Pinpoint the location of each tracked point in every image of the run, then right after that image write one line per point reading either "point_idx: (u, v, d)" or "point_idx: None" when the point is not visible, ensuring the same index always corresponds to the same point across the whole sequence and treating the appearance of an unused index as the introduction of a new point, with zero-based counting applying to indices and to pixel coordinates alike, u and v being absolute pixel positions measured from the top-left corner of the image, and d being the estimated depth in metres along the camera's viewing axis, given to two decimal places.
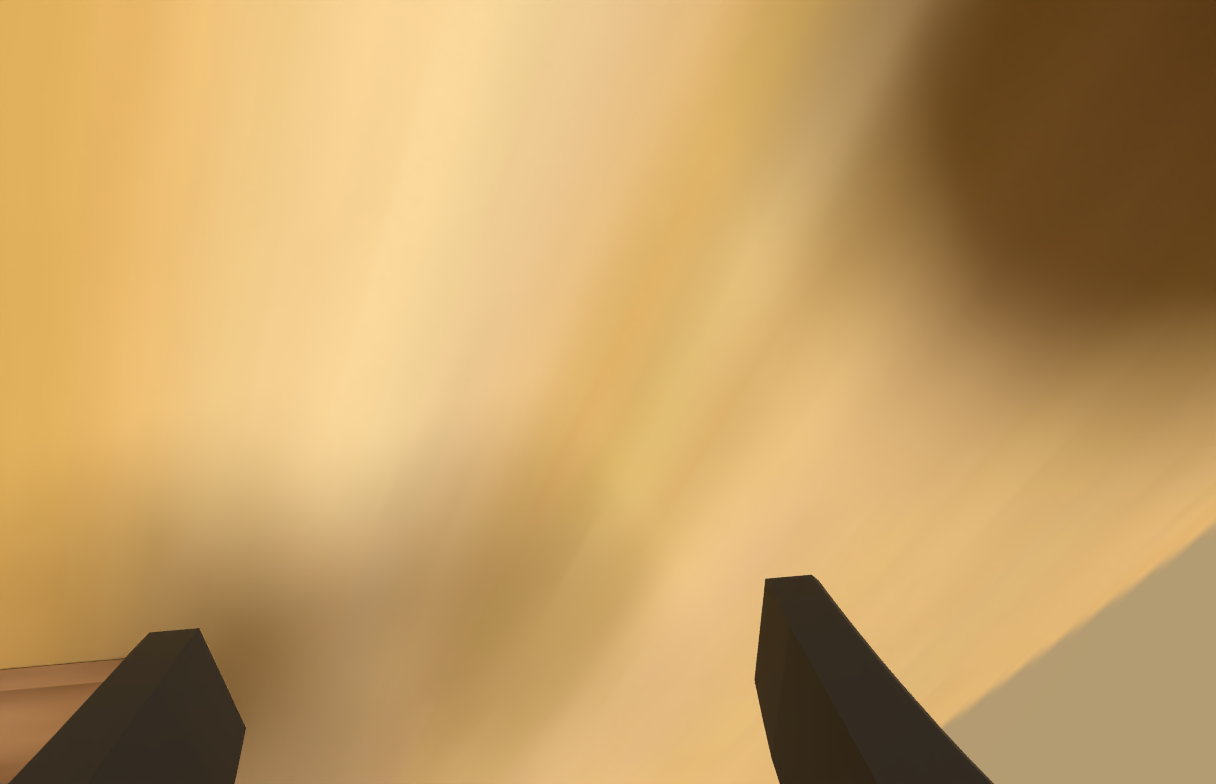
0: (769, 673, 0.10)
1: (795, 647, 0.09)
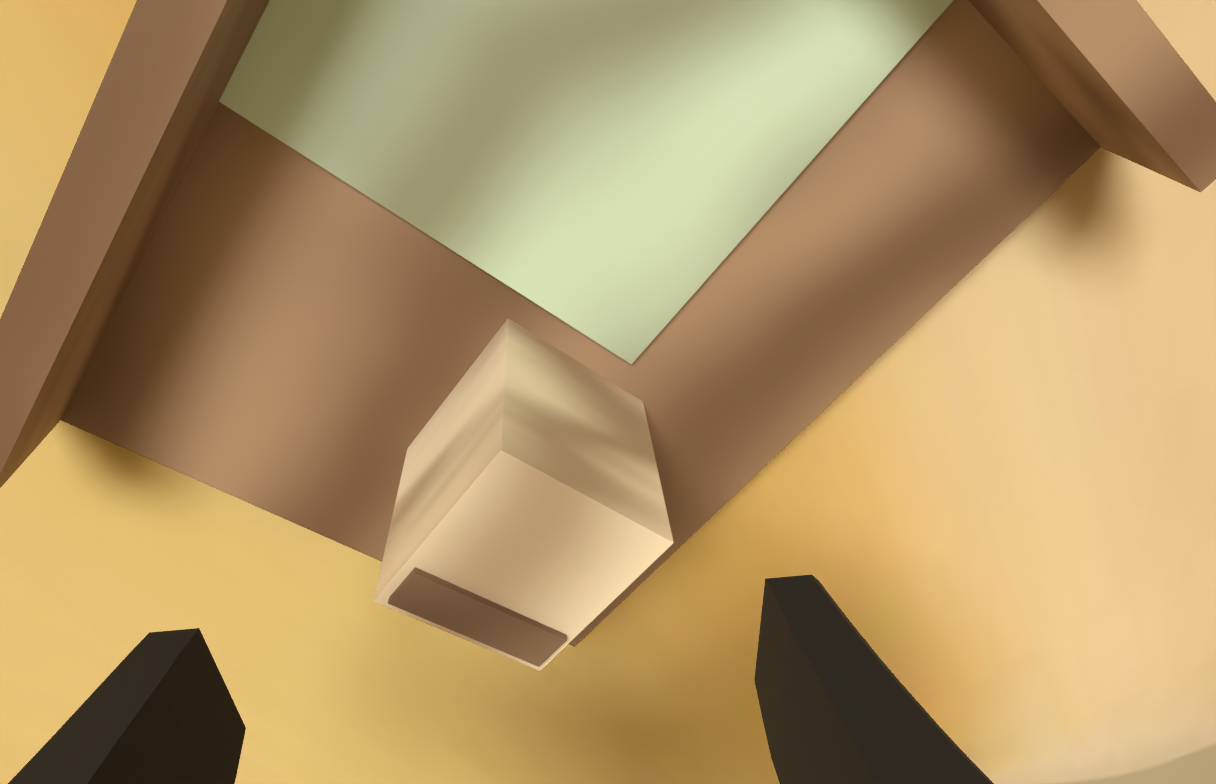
0: (769, 673, 0.10)
1: (795, 647, 0.09)
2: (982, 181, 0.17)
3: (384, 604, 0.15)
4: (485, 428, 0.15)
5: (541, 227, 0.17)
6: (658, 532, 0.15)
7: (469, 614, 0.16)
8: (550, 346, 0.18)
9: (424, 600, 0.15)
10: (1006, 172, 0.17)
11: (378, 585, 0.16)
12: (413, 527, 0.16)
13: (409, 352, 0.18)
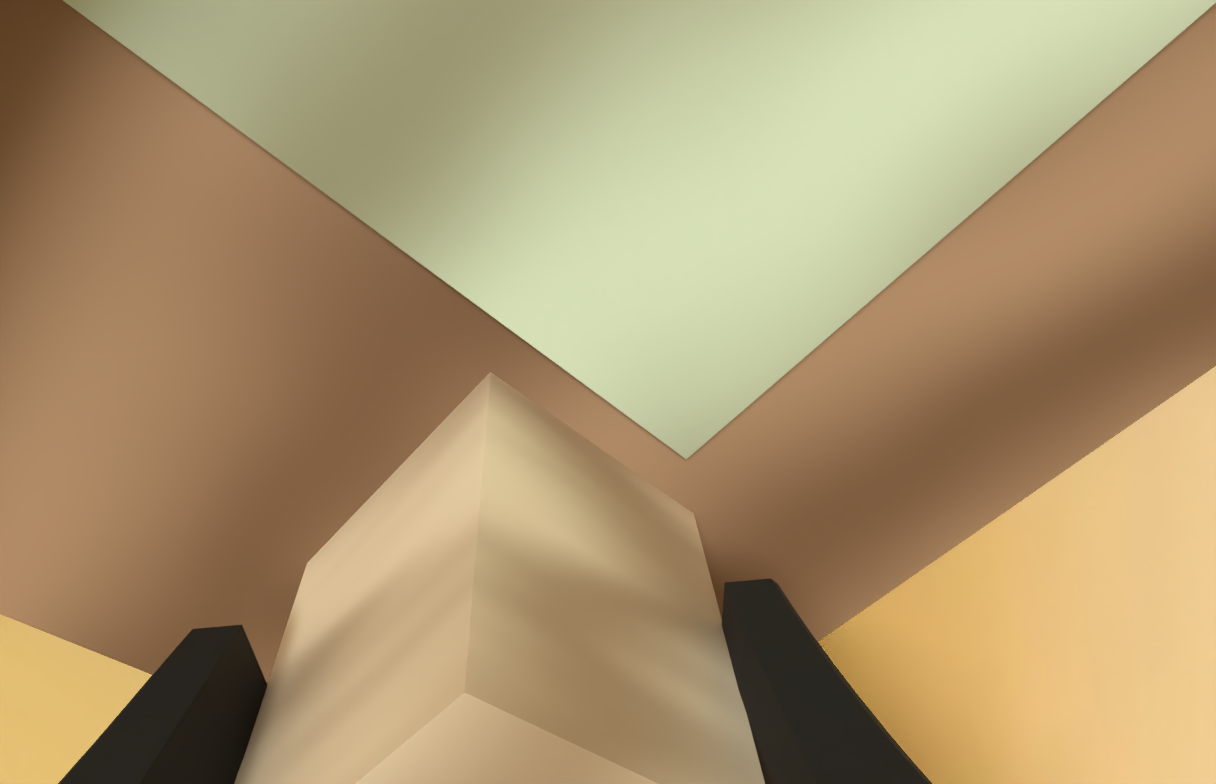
0: None
1: (749, 651, 0.09)
2: None
3: None
4: (436, 604, 0.08)
5: (565, 222, 0.09)
6: None
7: None
8: (557, 422, 0.11)
9: None
10: None
11: None
12: (282, 771, 0.08)
13: (316, 416, 0.11)
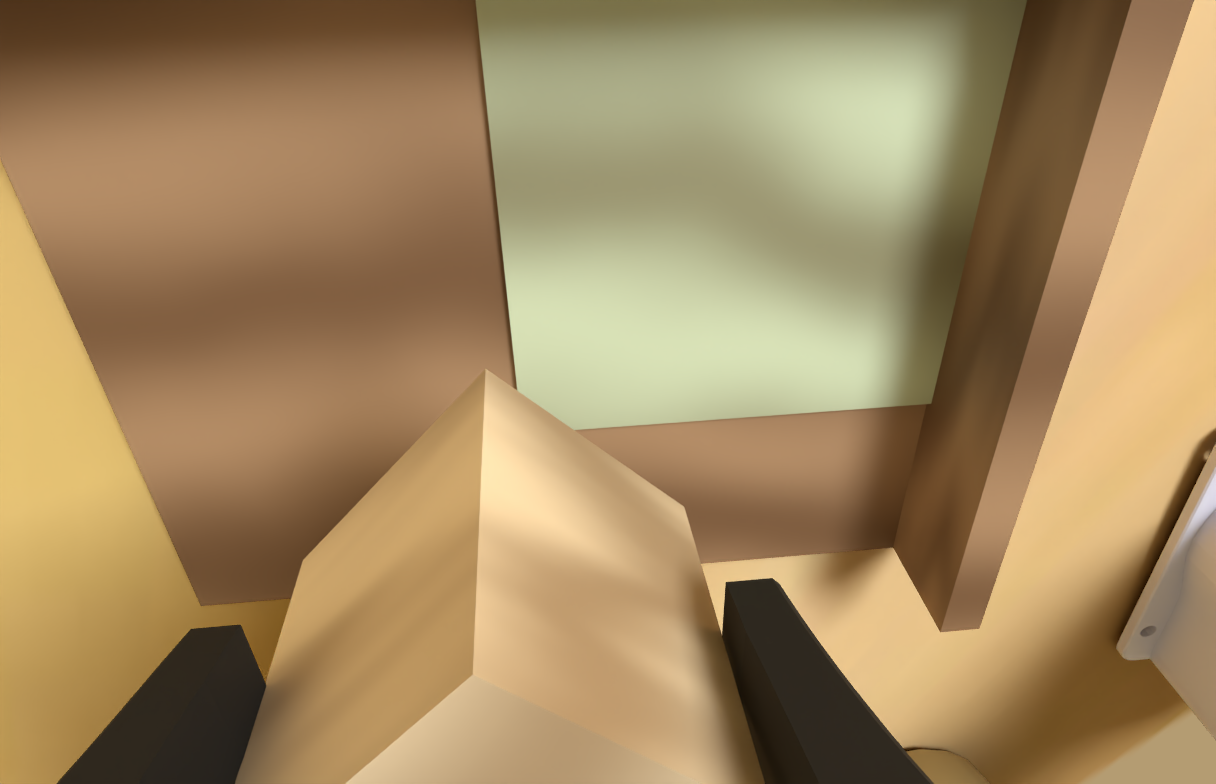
0: None
1: (751, 651, 0.09)
2: (828, 512, 0.21)
3: None
4: (439, 593, 0.08)
5: (579, 288, 0.17)
6: None
7: None
8: (551, 417, 0.11)
9: None
10: (843, 519, 0.21)
11: None
12: (287, 761, 0.08)
13: (368, 268, 0.16)
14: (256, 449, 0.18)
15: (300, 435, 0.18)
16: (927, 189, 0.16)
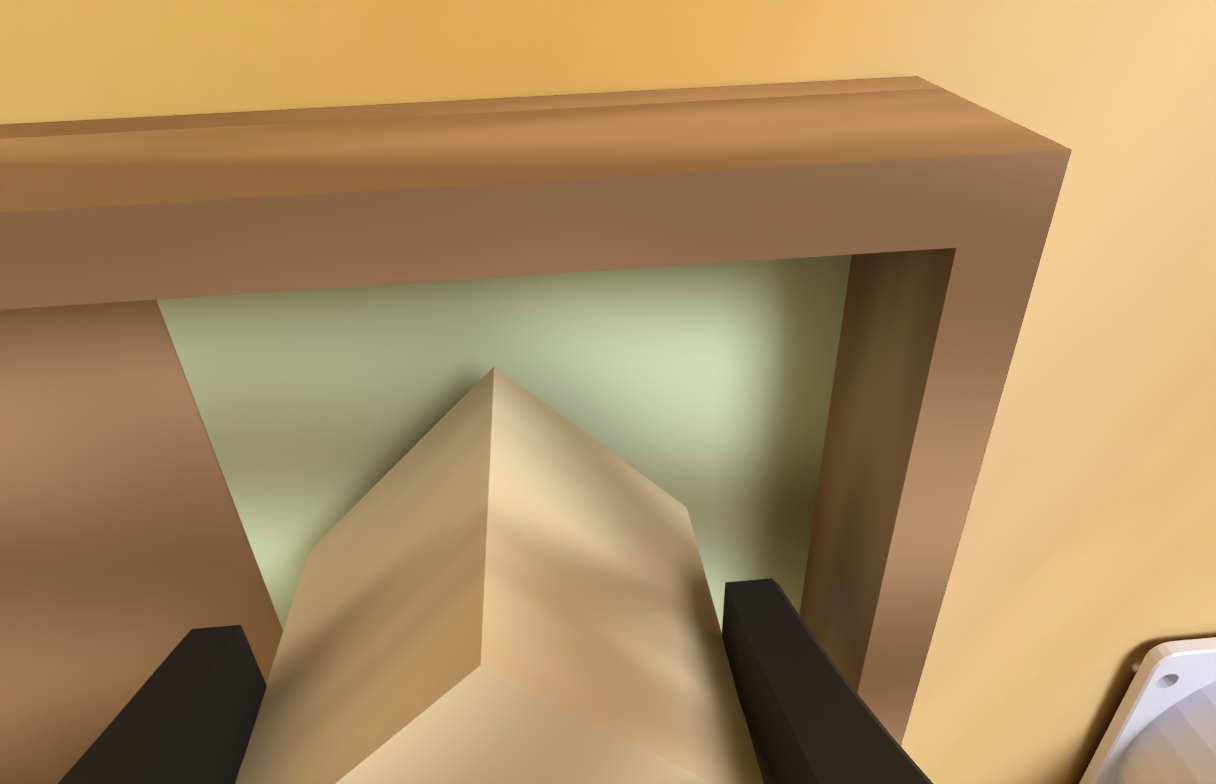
0: None
1: (750, 651, 0.09)
2: None
3: None
4: (447, 585, 0.08)
5: None
6: None
7: None
8: (557, 416, 0.11)
9: None
10: None
11: None
12: (293, 748, 0.08)
13: (81, 537, 0.13)
14: None
15: (42, 698, 0.15)
16: (756, 442, 0.13)
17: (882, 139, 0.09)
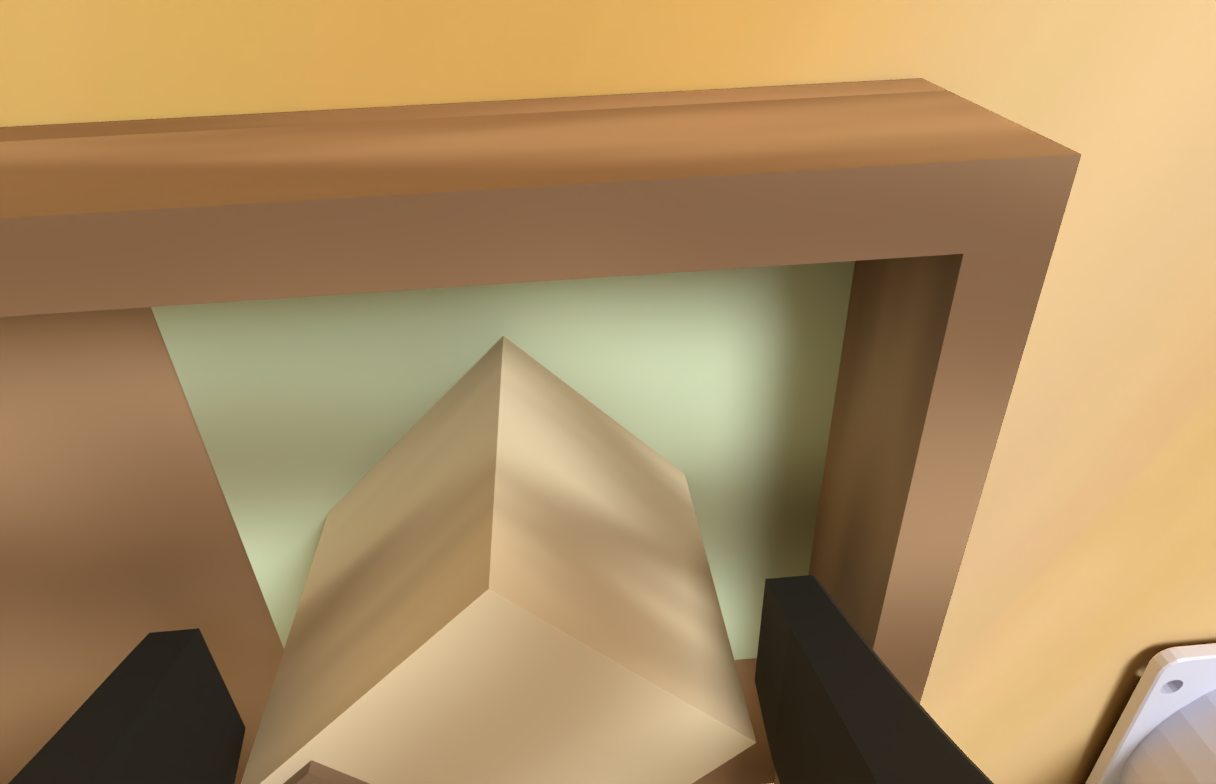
0: (769, 673, 0.10)
1: (795, 647, 0.09)
2: None
3: None
4: (459, 527, 0.09)
5: None
6: (734, 725, 0.09)
7: None
8: (562, 384, 0.12)
9: None
10: None
11: (246, 773, 0.09)
12: (317, 677, 0.09)
13: (75, 545, 0.13)
14: None
15: (36, 706, 0.15)
16: (758, 448, 0.13)
17: (888, 143, 0.08)
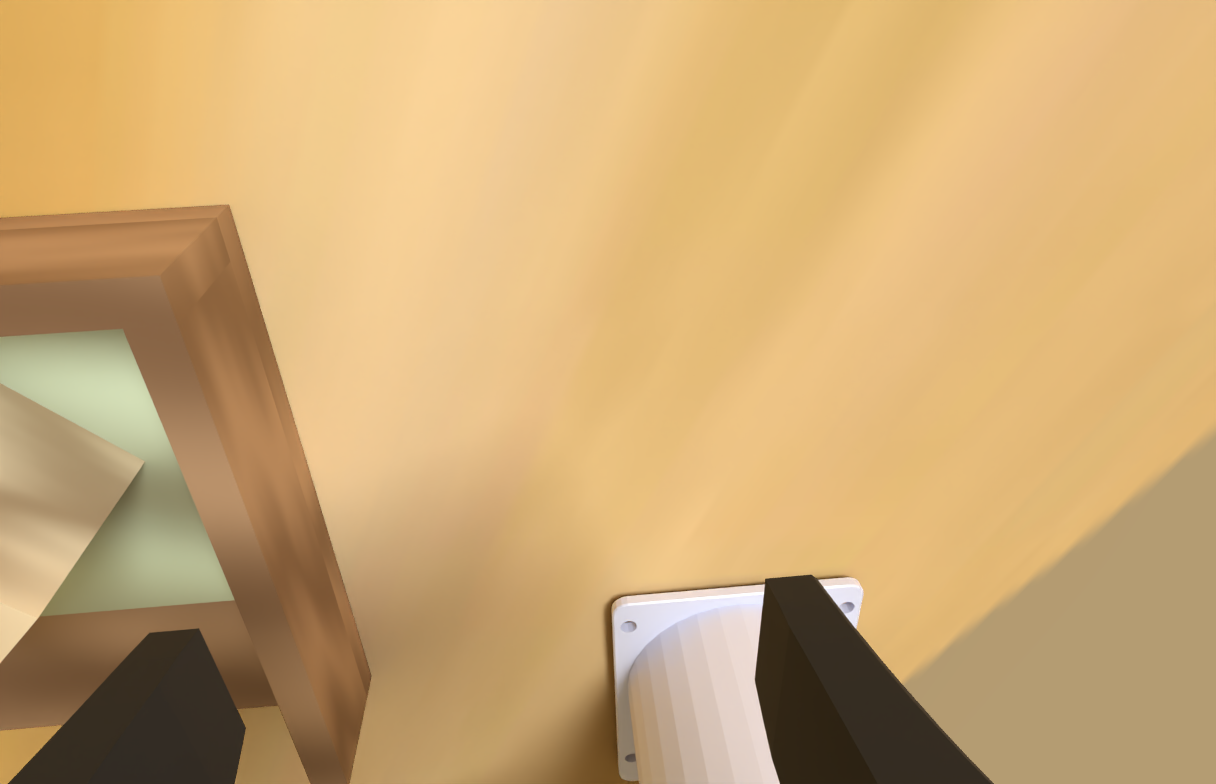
0: (769, 673, 0.10)
1: (795, 647, 0.09)
2: (257, 675, 0.24)
3: None
4: None
5: None
6: (19, 607, 0.15)
7: None
8: (26, 400, 0.18)
9: None
10: None
11: None
12: None
13: None
14: None
15: None
16: None
17: (81, 265, 0.14)
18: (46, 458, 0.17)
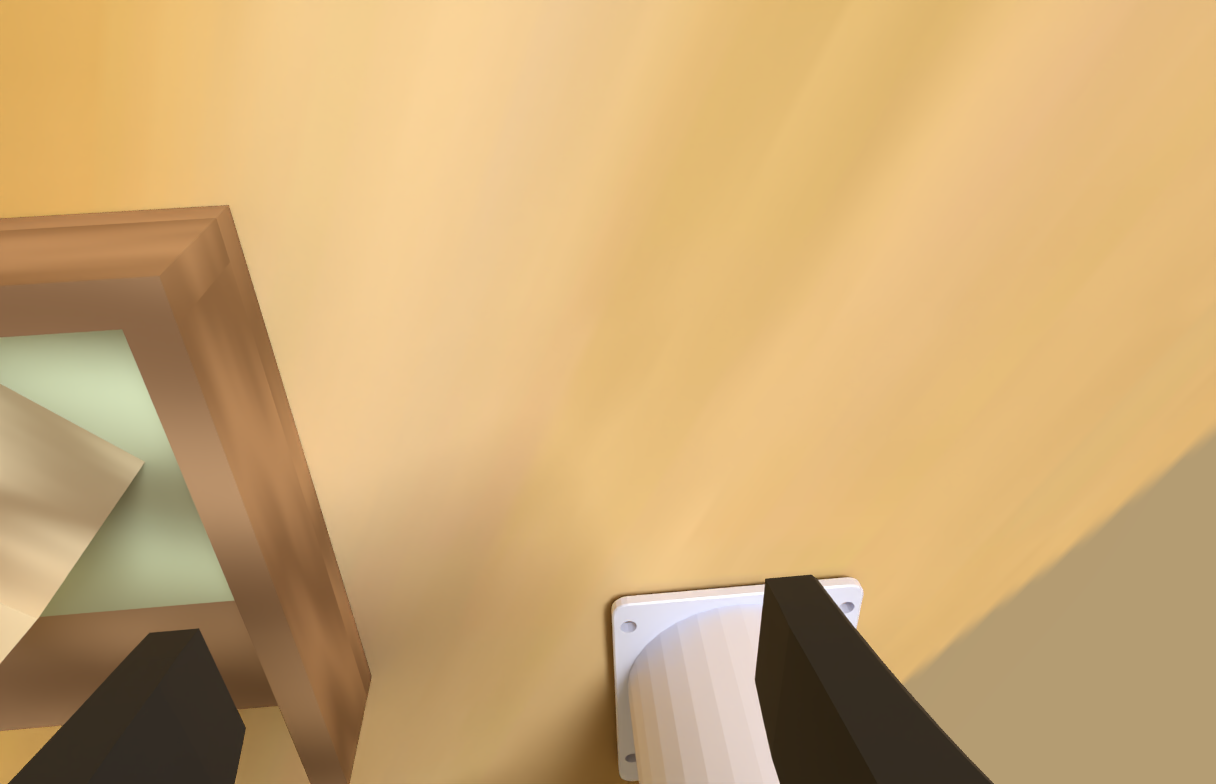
0: (769, 673, 0.10)
1: (795, 647, 0.09)
2: (257, 675, 0.24)
3: None
4: None
5: None
6: (19, 607, 0.15)
7: None
8: (25, 401, 0.18)
9: None
10: None
11: None
12: None
13: None
14: None
15: None
16: None
17: (81, 265, 0.14)
18: (46, 458, 0.17)
